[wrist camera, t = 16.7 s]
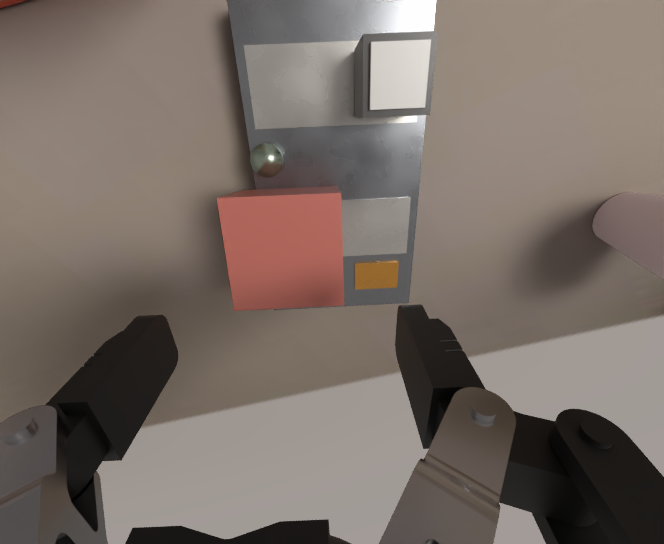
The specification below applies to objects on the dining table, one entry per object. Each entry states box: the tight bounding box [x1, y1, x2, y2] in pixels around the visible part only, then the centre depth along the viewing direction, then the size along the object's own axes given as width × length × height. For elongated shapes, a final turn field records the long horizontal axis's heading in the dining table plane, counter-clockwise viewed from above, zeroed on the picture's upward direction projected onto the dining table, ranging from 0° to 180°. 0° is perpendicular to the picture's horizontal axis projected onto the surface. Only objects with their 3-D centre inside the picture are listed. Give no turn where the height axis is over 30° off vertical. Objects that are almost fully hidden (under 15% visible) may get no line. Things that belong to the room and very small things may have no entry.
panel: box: [227, 0, 436, 310], centre depth 19 cm, size 10×18×3 cm, turn 2°
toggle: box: [354, 31, 438, 118], centre depth 14 cm, size 3×3×4 cm
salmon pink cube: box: [217, 186, 344, 311], centre depth 17 cm, size 6×6×5 cm
